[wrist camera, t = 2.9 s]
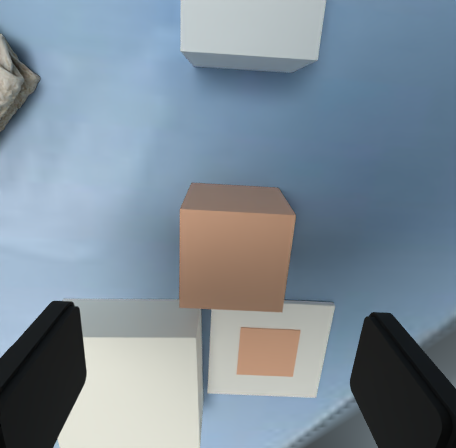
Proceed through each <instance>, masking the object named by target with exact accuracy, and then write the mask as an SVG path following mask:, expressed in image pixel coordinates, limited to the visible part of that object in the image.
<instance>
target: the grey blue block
mask: <svg viewBox="0 0 456 448" xmlns="http://www.w3.org/2000/svg"><path fill="white" fill-rule="evenodd" d="M325 5H326V0H181V49H180V51H181V52H182V53H183V55H184V56H185V57H186V58H187V59H188V60H189V62H190V63H191V64H192V65H193V66H194V67H209V68H224V69H239V70H254V71H269V72H285V73H293V72H295V71H297V70H299V69H301V68H303V67H305V66H307V65H309V64H311V63H313V62H315V61H317V60H318V54H319V47H320V40H321V33H322V26H323V19H324V12H325Z"/></svg>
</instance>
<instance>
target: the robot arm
mask: <svg viewBox="0 0 456 448" xmlns="http://www.w3.org/2000/svg"><path fill="white" fill-rule="evenodd" d="M86 376H87V370H86V361H85V352H84V343H83V334H82V325H81V316H80V309H79V307H78V306H75V305H74V303H73V302H72V301H52V302H51V303H50V304H49V305H48V306H47V307H46V309H45V310H44V311H43V312H42V313H41V314H40V315H39V316H38V318H37V319H36V320H35V321H34V322H33V323H32V324H31V325H30V327H29V328H28V329H27V330H26V331H25V332H24V333H23V334H22V336H21V337H20V338H19V339H18V340H17V341H16V342H15V343H14V344H13V345H12V346H11V347H10V348H9V349H8V350H7V351H6V352H5V354H4V355H3V356H2V357H1V358H0V448H53V447H54V445H55V442H56V440H57V438H58V436H59V434H60V432H61V430H62V428H63V426H64V424H65V422H66V420H67V418H68V416H69V414H70V412H71V410H72V408H73V406H74V404H75V402H76V400H77V398H78V396H79V394H80V392H81V390H82V388H83V386H84V384H85V381H86ZM350 387H351V391H352V393H353V395H354V397H355V399H356V402H357V404H358V406H359V408H360V410H361V412H362V414H363V416H364V419H365V421H366V423H367V425H368V427H369V429H370V431H371V433H372V435H373V438H374V440H375V441H376V444H377V446H378V448H456V389H455V387H454V386H453V385H452V384H451V383H450V382H449V380H448V379H447V378H446V377H445V376H444V374H443V373H442V372H441V371H440V370H439V369H438V367H437V366H436V365H435V364H434V363H433V362H432V360H431V359H430V358H429V357H428V356H427V355H426V354H425V352H424V351H423V350H422V349H421V348H420V346H419V345H418V344H417V343H416V342H415V341H414V339H413V338H412V337H411V336H410V335H409V334H408V332H407V331H406V330H405V329H404V328H403V327H402V325H401V324H400V323H399V322H398V321H397V320H396V318H395V317H394V316H393V315H392V314H391V313H378V312H373V313H371V314H370V315H369V317H366V318H365V319H364V323H363V327H362V331H361V335H360V340H359V344H358V348H357V352H356V357H355V361H354V365H353V369H352V374H351V378H350Z"/></svg>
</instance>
